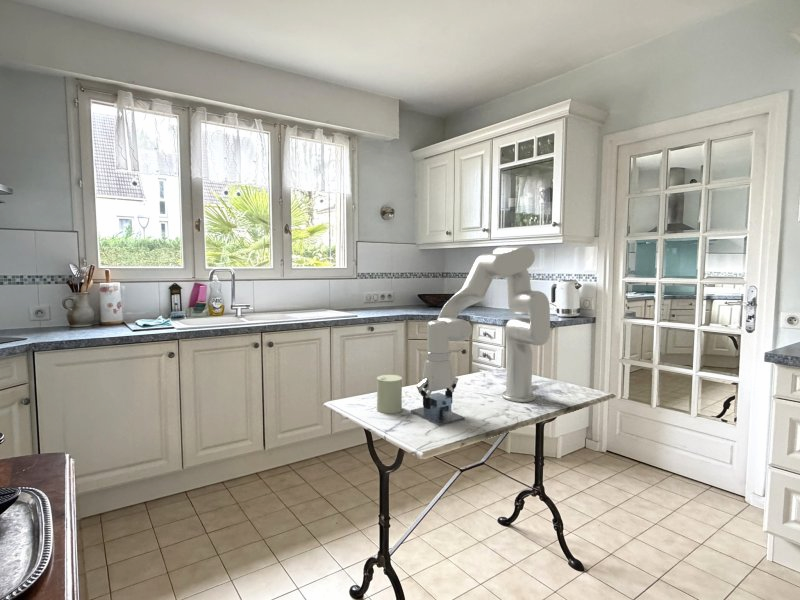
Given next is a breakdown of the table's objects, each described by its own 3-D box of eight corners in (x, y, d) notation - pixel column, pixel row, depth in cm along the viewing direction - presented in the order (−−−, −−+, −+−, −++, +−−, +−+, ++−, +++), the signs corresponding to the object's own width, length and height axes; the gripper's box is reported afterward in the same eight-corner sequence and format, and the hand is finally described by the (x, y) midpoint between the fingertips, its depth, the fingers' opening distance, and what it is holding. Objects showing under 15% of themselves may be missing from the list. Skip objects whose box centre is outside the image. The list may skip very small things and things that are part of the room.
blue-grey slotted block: (438, 408, 160) (438, 392, 159) (452, 414, 154) (452, 397, 153) (424, 412, 156) (424, 395, 156) (437, 418, 150) (437, 400, 150)
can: (371, 407, 163) (371, 375, 162) (392, 403, 168) (392, 372, 167) (385, 415, 156) (385, 381, 155) (407, 410, 161) (407, 377, 160)
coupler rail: (435, 406, 165) (435, 398, 165) (464, 419, 152) (464, 410, 151) (410, 412, 159) (410, 403, 158) (439, 426, 146) (439, 416, 145)
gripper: (450, 351, 161) (450, 398, 163) (411, 357, 152) (411, 407, 153) (464, 355, 155) (464, 403, 157) (424, 362, 146) (424, 413, 147)
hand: (437, 405), depth 155 cm, fingers open, 9 cm apart
